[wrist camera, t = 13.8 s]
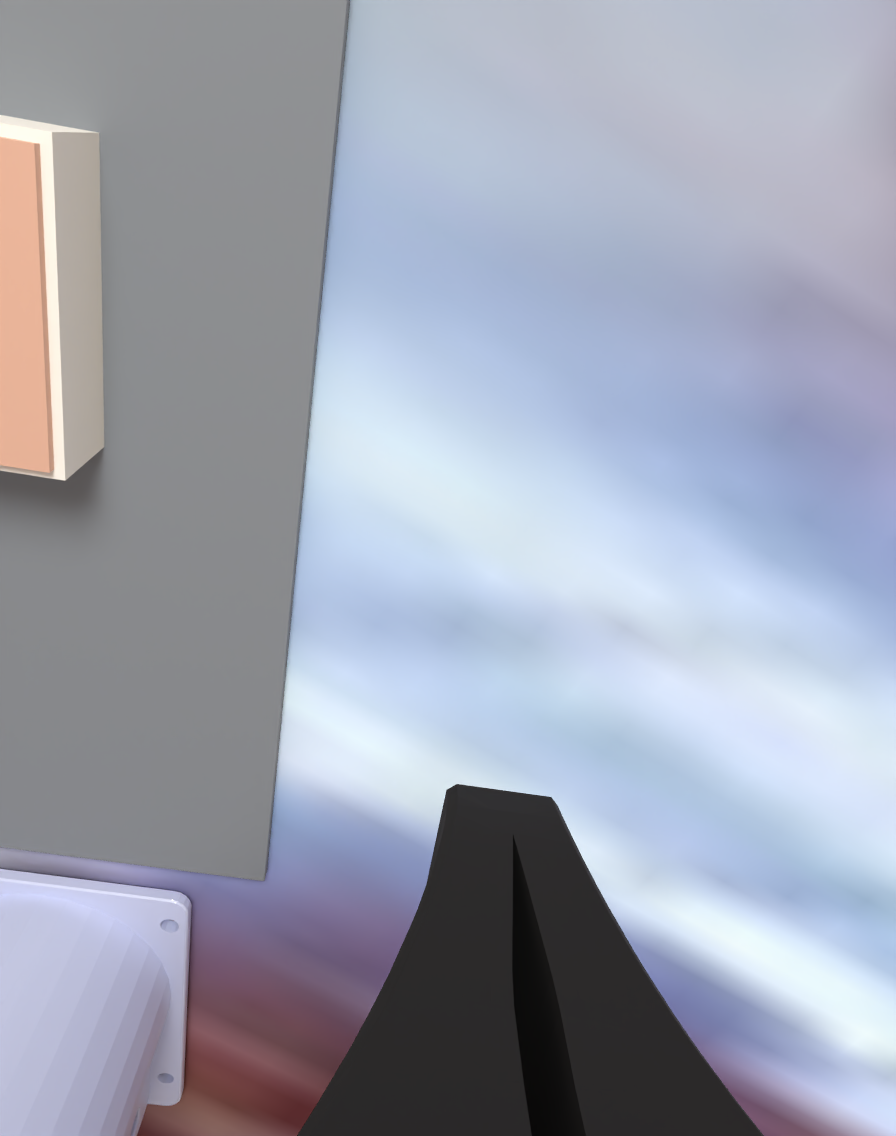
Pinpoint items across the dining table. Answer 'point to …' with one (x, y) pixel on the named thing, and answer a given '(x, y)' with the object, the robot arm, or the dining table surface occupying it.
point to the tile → (50, 299)
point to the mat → (172, 430)
